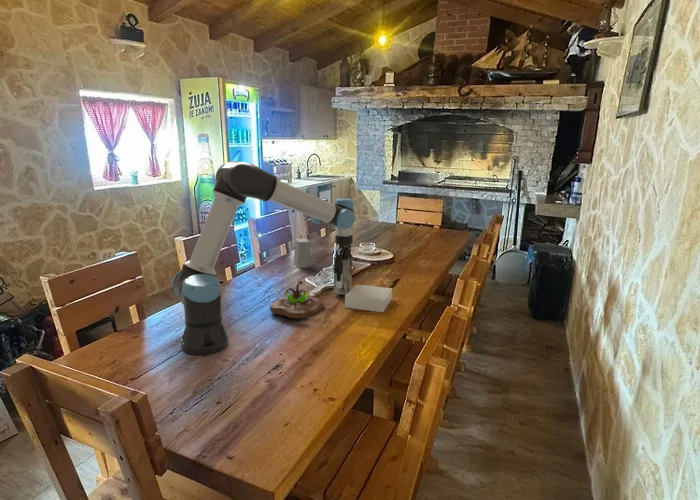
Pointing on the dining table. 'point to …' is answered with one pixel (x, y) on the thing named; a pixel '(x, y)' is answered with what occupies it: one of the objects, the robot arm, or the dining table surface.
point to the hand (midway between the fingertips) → (342, 284)
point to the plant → (297, 304)
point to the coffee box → (344, 276)
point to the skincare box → (302, 253)
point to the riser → (368, 298)
